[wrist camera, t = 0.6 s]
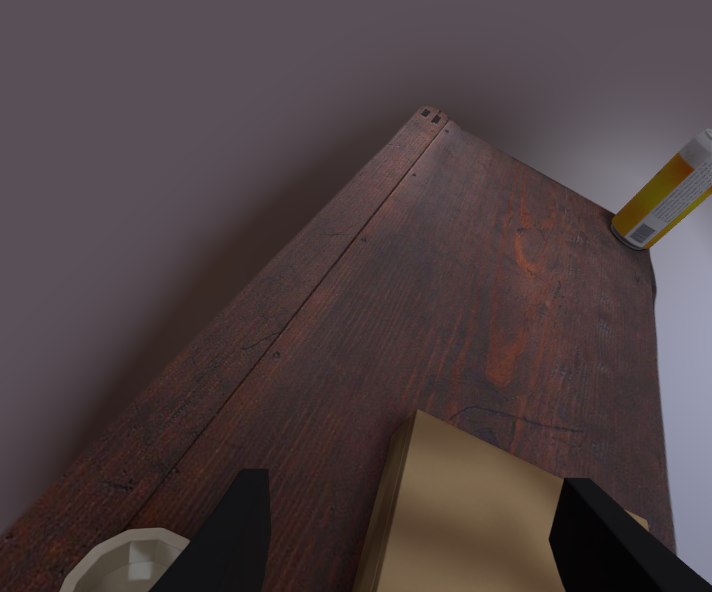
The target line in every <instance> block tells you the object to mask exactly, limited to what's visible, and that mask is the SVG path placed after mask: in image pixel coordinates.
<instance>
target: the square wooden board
mask: <svg viewBox="0 0 712 592" xmlns="http://www.w3.org/2000/svg"><path fill="white" fill-rule="evenodd" d="M563 481H564V480H563V479H561V478H559V477H557V476H555V475H552V474H550V473H548V472H546V471H544V470H542V469H540V468H538V467H536V466H534V465H532V464H530V463H528V462H526V461H524V460H522V459H520V458H518V457H516V456H513V455H511V454H509V453H507V452H505V451H503V450H501V449H499V448H497V447H495V446H493V445H491V444H489V443H487V442H485V441H483V440H481V439H479V438H477V437H474V436H472V435H470V434H468V433H466V432H464V431H462V430H460V429H458V428H456V427H454V426H452V425H450V424H448V423H446V422H444V421H442V420H440V419H438V418H435V417H433V416H431V415H429V414H427V413H425V412H423V411H421V410H419V409H417V410H416V411H415V412H414V413H413V414H412V415H411V416H410V417H409V418H408V419H407V420H406V421H405V422H404V423H403V425H402V426H401V427H400V428H399V429H398V430H397V431H396V432H395V433H394V434H393V435H392V438H391V442H390V446H389V449H388V453H387V457H386V461H385V465H384V469H383V473H382V476H381V480H380V484H379V488H378V492H377V496H376V500H375V504H374V507H373V511H372V515H371V519H370V523H369V527H368V531H367V535H366V538H365V542H364V546H363V550H362V554H361V558H360V562H359V566H358V569H357V573H356V577H355V581H354V585H353V589H352V592H565V589H564V587H563V585H562V582H561V579H560V576H559V573H558V570H557V566H556V563H555V560H554V557H553V553H552V550H551V547H550V543H549V540H548V538H549V535H550V531H551V527H552V523H553V519H554V515H555V512H556V508H557V504H558V500H559V496H560V492H561V489H562V485H563ZM625 511H626V510H625ZM626 512H627V513H629V514H630V515H631V516H632V517H633V518H634V519H635V520H636V521H637V522H638V523H640V524H641V525H642V526H643V527H644V528H645V529H646V530H647V531H648V532H649V529H648V523H647V521H646V520H645V519H643V518H641V517H639V516H637V515H635V514H633V513H630V512H628V511H626Z"/></svg>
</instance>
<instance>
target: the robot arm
mask: <svg viewBox="0 0 712 592" xmlns="http://www.w3.org/2000/svg"><path fill="white" fill-rule="evenodd" d="M270 537H271V517H270V495H269V474H268V469H242V470H241V471H240V472H239V473H238V474H237V476H236V477H235V479H234V481H233V482H232V484H231V485H230V487H229V488H228V490H227V491H226V493H225V494H224V496H223V497H222V499H221V500H220V502H219V503H218V505H217V506H216V507H215V509H214V510H213V512H212V513H211V514H210V516H209V517H208V518H207V520H206V521H205V522H204V524H203V525H202V526H201V528H200V529H199V530H198V532H197V533H196V534H195V536H194V537H193V538H192V540H191V541H190V542H189V544H188V545H187V546H186V547H185V549H184V550H183V551H182V552H181V553H180V555H179V556H178V557H177V558H176V559H175V561H174V562H173V563H172V564H171V565H170V567H169V568H168V569H167V570H166V571H165V573H164V574H163V575H162V576H161V577H160V579H159V580H158V581H157V582H156V583H155V584H154V585H153V586H152V588H151V589H150V590H149V591H148V592H261V588H262V584H263V580H264V575H265V569H266V563H267V557H268V550H269V543H270ZM548 540H549V543H550V547H551V550H552V553H553V557H554V560H555V563H556V566H557V570H558V573H559V576H560V579H561V582H562V585H563V587H564V589H565V592H712V585H710V584H709V583H708V582H707V581H706V580H704V579H703V578H702V577H701V576H699V575H698V574H697V573H696V572H695V571H693V570H692V569H691V568H690V567H689V566H687V565H686V564H685V563H684V562H683V561H681V560H680V559H679V558H678V557H677V556H676V555H675V554H673V553H672V552H671V551H670V550H669V549H668V548H667V547H665V546H664V545H663V544H662V543H661V542H660V541H659V540H657V539H656V538H655V537H654V536H653V535H652V534H651V533H650V532H648V531H647V530H646V529H645V528H644V527H643V526H642V525H641V524H640V523H638V522H637V521H636V520H635V519H634V518H633V517H632V516H631V515H630V514H629V513H627V512H626V511H625V510H624V509H623V508H622V507H621V506H620V505H619V504H618V503H616V502H615V501H614V500H613V499H612V498H611V497H610V496H609V495H608V494H607V493H605V492H604V491H603V490H602V489H601V488H600V487H599V486H598V485H596V484H595V483H594V482H593V481H592V480H591V479H589V478H564V481H563V485H562V489H561V492H560V496H559V500H558V504H557V508H556V512H555V515H554V519H553V523H552V527H551V531H550V535H549V538H548Z"/></svg>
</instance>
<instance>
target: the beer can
mask: <svg viewBox="0 0 712 592" xmlns="http://www.w3.org/2000/svg"><path fill="white" fill-rule="evenodd" d="M711 194H712V129H706V130H705V131H703V132H701V133H699V134H697V135H695V136H694V137H693V138H692V139H691V140H690V141H689V142H688V143H687V144H686V145H685V146H684V147H683V148H682V149H681V150H680V151H679V152H678V153H677V154H676V155H675V156H674V157H673V158H672V159H671V160H670V161H669V162H668V163H667V164H666V165H665V166H664V167H663V168H662V169H661V170H660V171H659V172H658V173H657V174H656V175H655V176H654V177H653V178H652V179H651V180H650V181H649V182H648V183H647V184H646V185H645V186H644V187H643V188H642V189H641V190H640V191H639V192H638V193H637V194H636V196H634V197H633V198H632V199H631V200H630V201H629V202H628V203H627V204H626V205H625V206H624V207H623V208H622V209H621V210H620V211H619V213H617V214H616V215H615V216H614V217H613V219H612V225H611V230H612V232H613V233H614V235H615V236H616V237H617V238H618V239H619V240H620V241H621V242H623V243H624V244H625V245H627V246H629V247H631V248H633V249H636V250H642V249H648V248H650V247H651V246H653V245H654V244H655V243H656V242H657V241H658V240H659V239H661V238H662V237H663V236H664V235H665V234H666V233H667V232H668V231H670V230H671V229H672V228H673V227H674V226H675V225H677V223H679V222H680V221H681V220H682V219H683V218H684V217H686V216H687V215H688V214H689V213H690V212H691V211H692V210H694V209H695V208H696V207H697V206H698V205H699V204H700V203H701V202H703V201H704V200H705V199H706V198H707V197H708V196H709V195H711Z"/></svg>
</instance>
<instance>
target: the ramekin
mask: <svg viewBox="0 0 712 592" xmlns="http://www.w3.org/2000/svg"><path fill="white" fill-rule="evenodd" d="M189 542H190V541H189V540H188V539H186V538H184V537H182V536H180V535H178V534H175V533H173V532H171V531H169V530H167V529H164V528H143V529H130V530H127V531H125V532H123V533H121V534H118V535H116V536H114V537H112V538H110V539H108V540H106V541H104V542H102V543H100V544H98V545H96V547H94V548H93V549H92V550H91V551H90V552H89V553H88V554H87V555H86V556H85V557H84V558H83V559H82V560H81V561H80V562H79V563H78V564H77V565H76V567H75V568H74V569H73V570H72V571H71V572H70V573H69V574H68V575H67V577H66V578H65V580H64V582H63V584H62V587H61V589H60V591H59V592H148V591H149V590H150V589H151V588H152V586H153V585H154V584H155V583H156V582H157V581H158V580H159V579H160V577H161V576H162V575H163V574H164V573H165V571H166V570H167V569H168V568H169V567H170V565H171V564H172V563H173V562H174V561H175V559H176V558H177V557H178V556H179V555H180V553H181V552H182V551H183V550H184V549H185V547H186V546H187V545H188V544H189Z"/></svg>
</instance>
